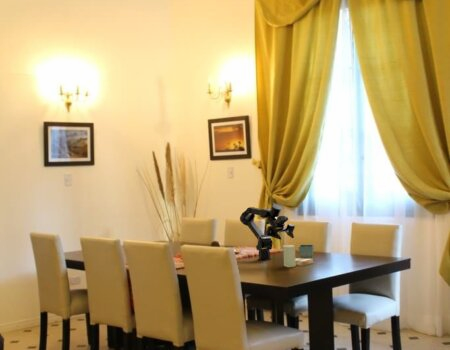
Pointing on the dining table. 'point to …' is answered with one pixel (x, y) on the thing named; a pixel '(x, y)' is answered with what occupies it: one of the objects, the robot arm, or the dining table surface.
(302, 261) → the tan square coaster
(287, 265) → the tea tin
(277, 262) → the dining table surface
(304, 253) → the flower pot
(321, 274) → the dining table surface
